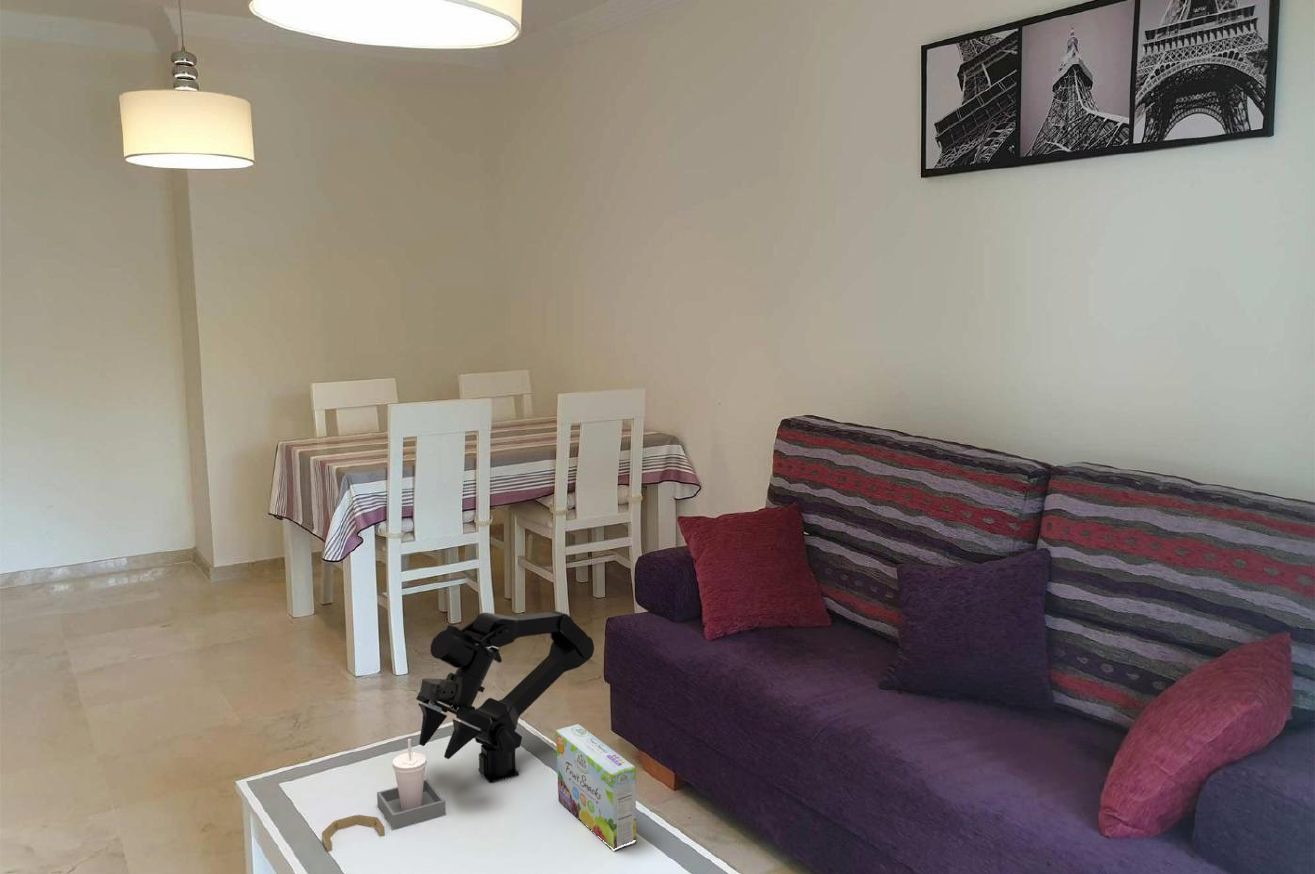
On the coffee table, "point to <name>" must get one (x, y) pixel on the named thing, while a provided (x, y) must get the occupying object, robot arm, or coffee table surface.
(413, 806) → the smoothie
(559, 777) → the snack box
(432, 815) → the tray
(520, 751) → the coffee table surface
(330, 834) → the collar
